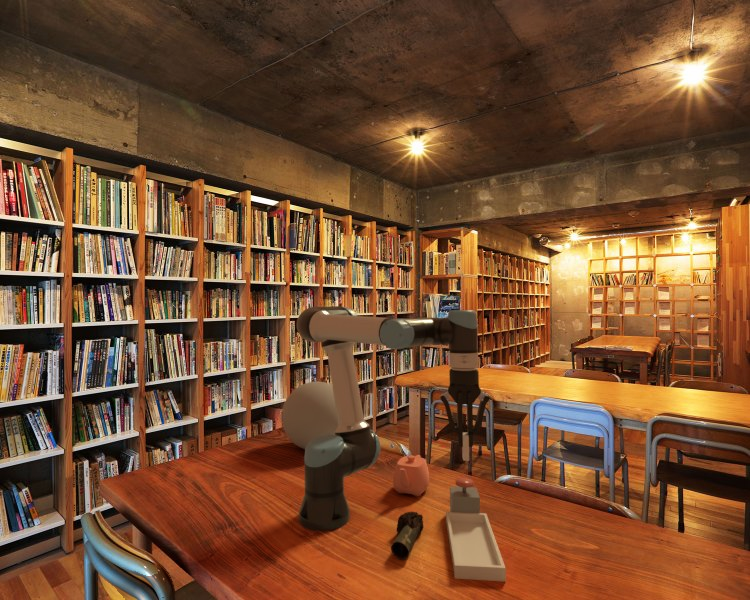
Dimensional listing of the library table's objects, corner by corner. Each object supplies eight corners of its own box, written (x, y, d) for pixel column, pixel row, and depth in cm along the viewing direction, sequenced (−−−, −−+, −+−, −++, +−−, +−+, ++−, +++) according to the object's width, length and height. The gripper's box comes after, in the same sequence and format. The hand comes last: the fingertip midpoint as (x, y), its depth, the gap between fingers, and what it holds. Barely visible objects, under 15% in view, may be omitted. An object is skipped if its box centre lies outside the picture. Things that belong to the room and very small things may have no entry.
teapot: (403, 478, 156) (403, 446, 156) (434, 483, 152) (434, 450, 152) (384, 501, 138) (384, 464, 138) (419, 508, 133) (418, 470, 133)
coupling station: (454, 580, 98) (454, 532, 98) (444, 512, 130) (444, 475, 130) (505, 583, 97) (505, 534, 97) (482, 513, 129) (482, 477, 129)
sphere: (271, 458, 177) (271, 387, 177) (296, 436, 206) (295, 375, 207) (340, 462, 172) (340, 389, 172) (355, 439, 201) (355, 377, 202)
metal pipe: (408, 562, 104) (409, 539, 104) (383, 556, 106) (383, 533, 106) (426, 529, 120) (426, 509, 120) (403, 524, 123) (404, 504, 123)
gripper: (439, 370, 107) (441, 463, 107) (491, 370, 106) (493, 464, 105) (438, 366, 115) (439, 453, 114) (486, 366, 113) (488, 454, 113)
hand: (465, 458), depth 110 cm, fingers closed
